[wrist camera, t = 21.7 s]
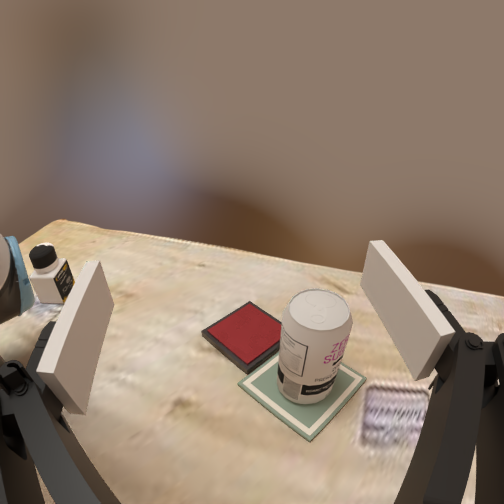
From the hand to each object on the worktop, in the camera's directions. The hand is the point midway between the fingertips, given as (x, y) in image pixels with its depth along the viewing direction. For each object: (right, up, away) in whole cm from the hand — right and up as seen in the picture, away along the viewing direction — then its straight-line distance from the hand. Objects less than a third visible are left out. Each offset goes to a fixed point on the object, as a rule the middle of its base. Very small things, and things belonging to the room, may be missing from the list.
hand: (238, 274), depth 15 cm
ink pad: (0, -13, +36) cm, 38 cm away
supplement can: (+8, -18, +27) cm, 33 cm away
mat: (+8, -18, +27) cm, 34 cm away
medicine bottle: (-43, -8, +44) cm, 62 cm away
